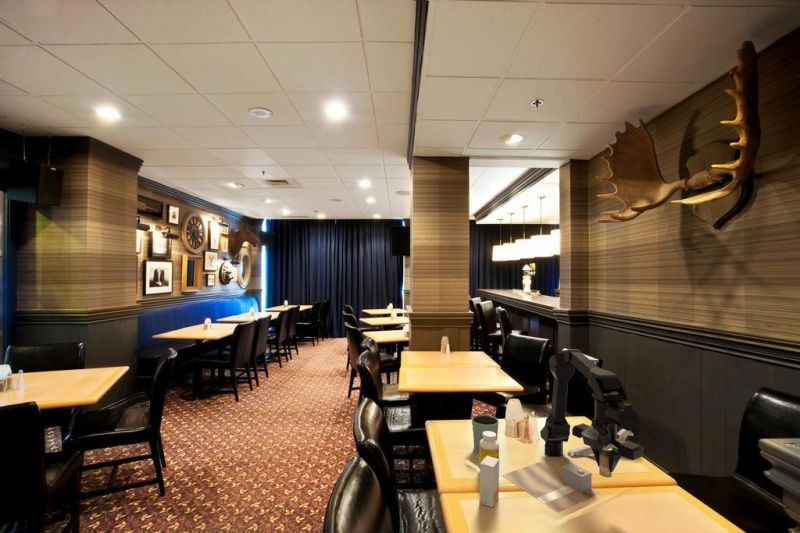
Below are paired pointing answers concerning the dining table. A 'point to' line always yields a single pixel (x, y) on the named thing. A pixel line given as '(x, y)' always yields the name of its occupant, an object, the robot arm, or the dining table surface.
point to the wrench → (588, 451)
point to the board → (547, 486)
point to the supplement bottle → (488, 446)
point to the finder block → (577, 477)
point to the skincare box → (489, 481)
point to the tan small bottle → (604, 463)
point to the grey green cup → (483, 428)
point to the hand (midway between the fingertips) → (605, 469)
